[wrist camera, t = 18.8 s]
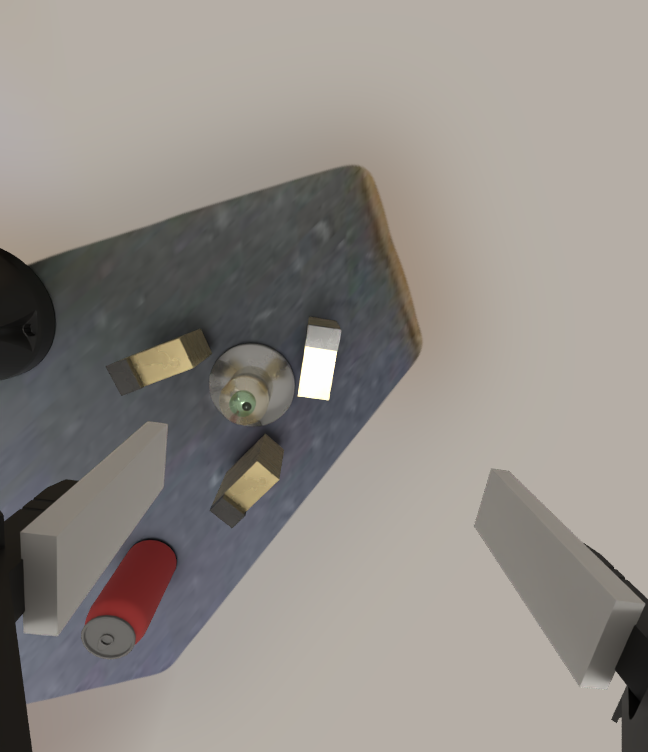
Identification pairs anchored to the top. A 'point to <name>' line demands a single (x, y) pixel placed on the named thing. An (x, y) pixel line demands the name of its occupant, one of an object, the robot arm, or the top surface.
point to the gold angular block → (159, 362)
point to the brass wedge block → (248, 481)
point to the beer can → (129, 600)
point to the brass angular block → (319, 358)
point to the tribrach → (252, 384)
